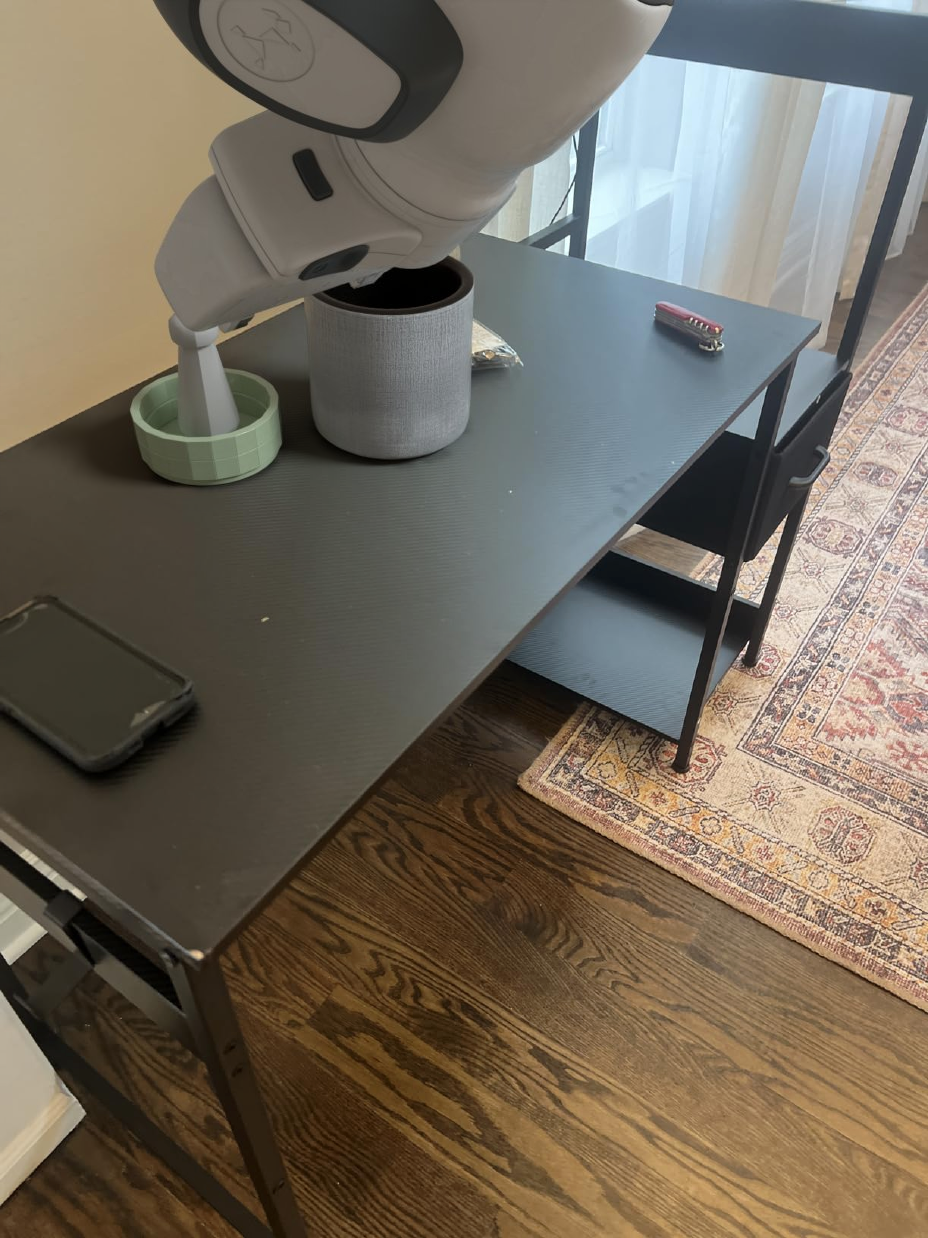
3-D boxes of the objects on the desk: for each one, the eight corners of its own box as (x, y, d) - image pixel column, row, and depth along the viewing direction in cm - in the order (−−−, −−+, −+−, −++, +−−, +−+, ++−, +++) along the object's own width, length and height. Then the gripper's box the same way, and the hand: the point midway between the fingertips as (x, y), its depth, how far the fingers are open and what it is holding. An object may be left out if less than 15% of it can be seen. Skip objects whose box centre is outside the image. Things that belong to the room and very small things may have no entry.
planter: (282, 415, 96) (266, 267, 85) (404, 370, 104) (403, 229, 93) (376, 486, 88) (371, 331, 77) (501, 431, 95) (512, 283, 85)
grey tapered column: (169, 448, 89) (143, 320, 81) (203, 419, 93) (181, 294, 85) (222, 462, 88) (200, 333, 79) (254, 433, 92) (237, 307, 83)
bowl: (155, 500, 85) (144, 453, 81) (130, 426, 94) (119, 381, 90) (300, 470, 89) (295, 424, 86) (262, 401, 98) (257, 358, 95)
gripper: (522, 68, 49) (400, 207, 60) (180, 138, 38) (111, 291, 49) (576, 180, 49) (445, 297, 61) (257, 281, 39) (171, 399, 50)
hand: (293, 295), depth 55 cm, fingers open, 8 cm apart
